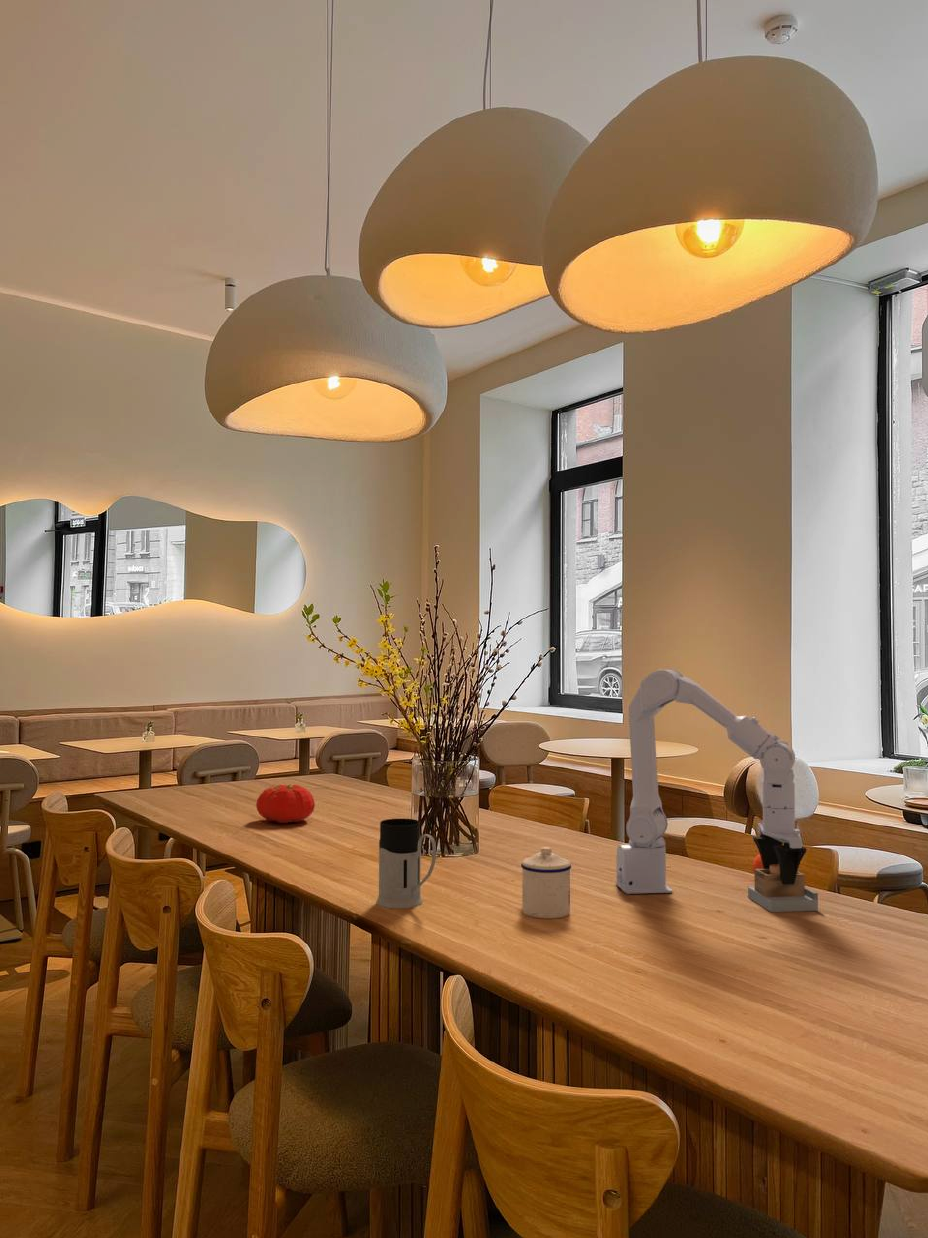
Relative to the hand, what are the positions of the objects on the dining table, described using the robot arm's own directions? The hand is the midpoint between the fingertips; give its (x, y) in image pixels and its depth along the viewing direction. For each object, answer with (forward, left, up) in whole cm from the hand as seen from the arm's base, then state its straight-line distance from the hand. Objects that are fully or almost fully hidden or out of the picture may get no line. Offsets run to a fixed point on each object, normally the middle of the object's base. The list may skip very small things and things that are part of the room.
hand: (779, 879), depth 172 cm
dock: (+1, 0, -5) cm, 5 cm away
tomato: (-99, +93, -5) cm, 136 cm away
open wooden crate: (0, 0, -3) cm, 3 cm away
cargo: (0, 0, 0) cm, 0 cm away
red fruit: (+4, +13, -5) cm, 15 cm away
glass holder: (-69, +6, -5) cm, 70 cm away
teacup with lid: (-45, 0, -5) cm, 46 cm away
